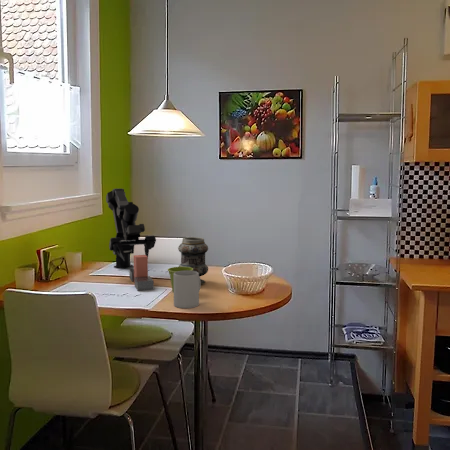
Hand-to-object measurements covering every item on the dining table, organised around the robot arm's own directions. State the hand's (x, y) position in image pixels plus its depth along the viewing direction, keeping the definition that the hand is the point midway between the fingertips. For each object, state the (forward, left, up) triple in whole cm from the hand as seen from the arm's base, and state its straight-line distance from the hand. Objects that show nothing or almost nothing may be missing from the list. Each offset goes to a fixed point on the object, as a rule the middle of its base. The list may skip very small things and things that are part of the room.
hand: (136, 259), depth 211 cm
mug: (+21, +38, -8) cm, 44 cm away
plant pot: (+9, +27, -8) cm, 29 cm away
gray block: (+5, +6, -8) cm, 11 cm away
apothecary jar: (-5, +24, -8) cm, 26 cm away
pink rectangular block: (+5, +6, -8) cm, 11 cm away
